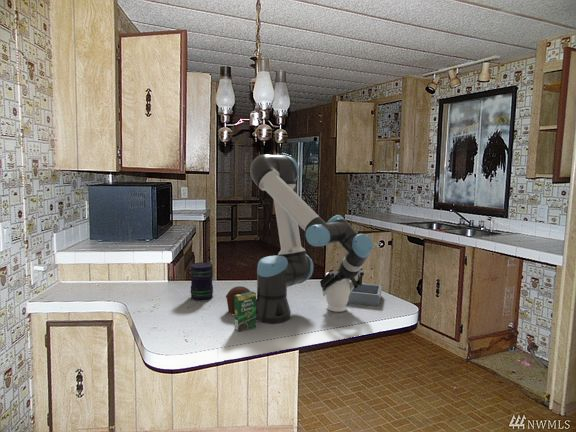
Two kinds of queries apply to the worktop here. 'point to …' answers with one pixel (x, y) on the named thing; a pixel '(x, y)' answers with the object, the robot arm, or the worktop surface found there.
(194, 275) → the storage jar
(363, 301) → the bin
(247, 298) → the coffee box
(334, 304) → the white tapered cylinder
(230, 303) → the muffin
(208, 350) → the worktop surface
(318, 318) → the worktop surface
